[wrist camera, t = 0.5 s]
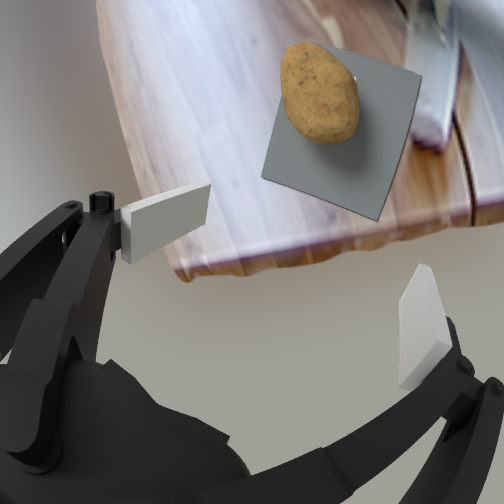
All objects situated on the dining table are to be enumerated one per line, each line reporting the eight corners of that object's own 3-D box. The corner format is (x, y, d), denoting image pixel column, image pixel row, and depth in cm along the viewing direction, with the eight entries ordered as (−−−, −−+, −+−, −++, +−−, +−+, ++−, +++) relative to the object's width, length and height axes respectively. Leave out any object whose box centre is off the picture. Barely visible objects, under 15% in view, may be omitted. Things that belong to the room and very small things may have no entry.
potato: (339, 45, 28) (330, 22, 21) (374, 137, 31) (375, 134, 25) (276, 65, 33) (253, 49, 26) (306, 153, 36) (290, 155, 29)
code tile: (296, 40, 30) (296, 39, 30) (421, 76, 25) (421, 75, 25) (261, 176, 41) (260, 176, 40) (376, 220, 36) (376, 221, 35)
